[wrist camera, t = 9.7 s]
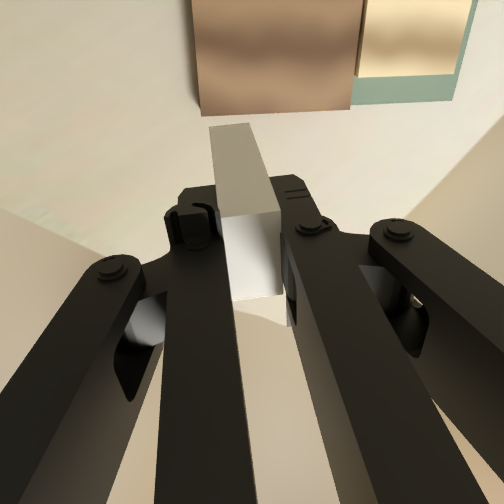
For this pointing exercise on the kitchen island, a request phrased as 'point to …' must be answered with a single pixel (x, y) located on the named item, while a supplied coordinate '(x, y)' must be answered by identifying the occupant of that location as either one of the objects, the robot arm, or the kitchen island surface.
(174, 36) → the kitchen island surface
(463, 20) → the maple tile
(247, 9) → the walnut deck
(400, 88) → the rubber mat
